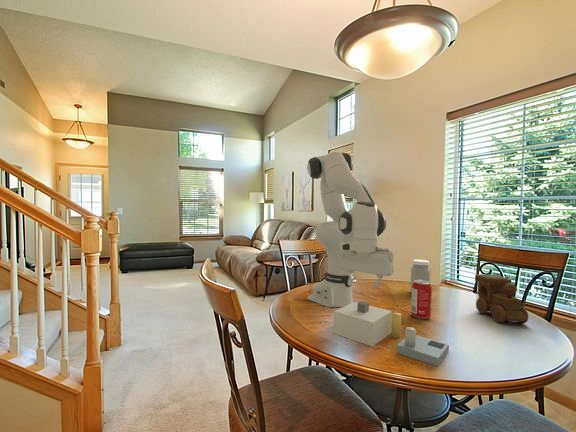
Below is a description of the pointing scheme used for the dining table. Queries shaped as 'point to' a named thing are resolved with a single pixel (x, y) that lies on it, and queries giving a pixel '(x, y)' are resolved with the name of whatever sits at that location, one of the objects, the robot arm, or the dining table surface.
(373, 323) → the cover
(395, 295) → the dining table surface
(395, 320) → the peg
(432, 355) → the board
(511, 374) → the dining table surface
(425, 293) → the soda can
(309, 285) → the dining table surface
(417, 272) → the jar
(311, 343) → the dining table surface
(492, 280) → the wooden toy train
